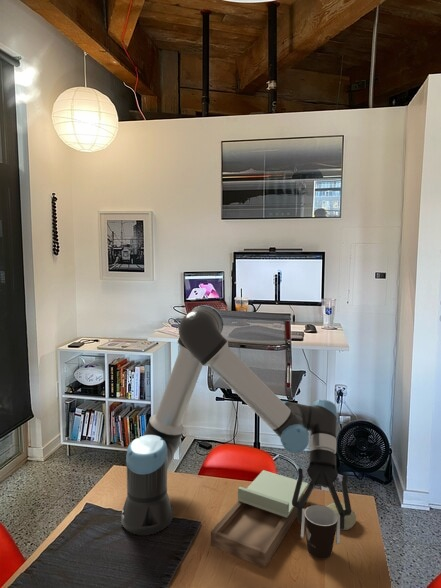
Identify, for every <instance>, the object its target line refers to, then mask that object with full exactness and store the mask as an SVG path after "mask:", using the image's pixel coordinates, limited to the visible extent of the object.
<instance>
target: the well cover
mask: <svg viewBox="0 0 441 588" xmlns="http://www.w3.org/2000/svg"><path fill="white" fill-rule="evenodd" d="M297 480H298V479H295V478H292V477H288V476H285V475H281V474H278V473H274V472H271V471H267V470H265V469H263V470H262V471H260V473H259V474H258V475H257V476H256V477H255V478H254V479H253V481H252V482H251V483H250V484H249V485H248V486H247V487H243V486H239V487H238V488H237V502H238V501H240V502H243V503H246V504H249V505H252V506H255V507H257V508H260V509H263V510H266V511H269V512H272V513H275V514H278V515H280V516H283V517H286V518H287V517H288V516H289V514H290V513H291V511H292V510H293V508H294V507H295V506H293V505H292V499H293V495H294V492H295V488H296V484H297ZM308 486H309V483H308V482H305V481H302V485H301V489H300V493H299V497H298V500H299V499H300V497H301V496H302V494H304V493H305V491H306V490H307V488H308ZM298 500H297V502H298Z"/></svg>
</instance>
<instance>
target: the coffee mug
mask: <svg viewBox="0 0 441 588" xmlns="http://www.w3.org/2000/svg"><path fill="white" fill-rule="evenodd" d="M306 504H307V503H306ZM305 507H306V508H304V509H305V512H304V515H305V525H304V528H305V536H306V537H305V538H306V550H307V552H308V553H309V555H310V556H312V557H313V558H316V559H320V560H321V559H322V560H325V559H329V558H330V557H331V556H332V553H333V547H334V543H335V539H336V527H337V521H338V516H337V514H336V513H335V511H333V510H332V509H330V508H328V507H327V505H321V504H313V505H312V504H310V503H308V504H307V505H306V506H305Z"/></svg>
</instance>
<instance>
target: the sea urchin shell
mask: <svg viewBox="0 0 441 588" xmlns="http://www.w3.org/2000/svg"><path fill="white" fill-rule="evenodd" d="M341 505H342V507H343V510H346V509H345V504H344V502H341ZM326 507H328V508H330V509H332V510H333V511H335V513H336V514H338V515H339V513H338V510H337V508H336V505H335V503H334V502H331V503H329V504H328V505H326ZM356 521H357V516H356V513H355V511H354V510H353V509H352V508H351V514H350V515H348V516H345V517H344V529H343V530H342V531H346V530H350V529H352V528H353V527H354V526H355V524H356Z"/></svg>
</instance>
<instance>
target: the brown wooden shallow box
mask: <svg viewBox="0 0 441 588" xmlns="http://www.w3.org/2000/svg"><path fill="white" fill-rule="evenodd" d="M303 495H304V493H303V494H302V496H301V497H300V499H299V500H298V502H299V503H300V501H301V499H302V497H303ZM296 518H298V509H297V508H296V507H294V508H293V510H292V511H291V513H290V514H289V516H288V517H287V518H286V517H283V516H280V515H278V514H275V513H272V512H269V511H266V510H263V509H260V508H257V507H255V506H252V505H249V504H246V503H243V502H240V501H238V500H237V502H236V503H234V505H233V506H232V507H231V509H229V510H228V512H227V513H226V514H225V515H224V516H223V517H222V518H221V519H220V520H219V522H218V523H217V524H216V525H215V526H214V528H213V529H212V530H211V531H210V546H211V547H213V548H216V549H219V550H220V551H223V552H225V553H228V554H230V555H233V556H235V557H238V558H239V559H242V560H243V561H247V562H249V563H251V564H254V565H257V566H258V567H261V568H264V569H265V568H267V565H268V564H269V562H270V561H271V559H272V557H273V556H274V555H275V552H276V551H277V549H278V547H280V544H281V543H282V541H283V539H285V536H286V535H287V533H288V532H289V529H290V528H291V526H292V524H293V523H294V522H295V520H296Z"/></svg>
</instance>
